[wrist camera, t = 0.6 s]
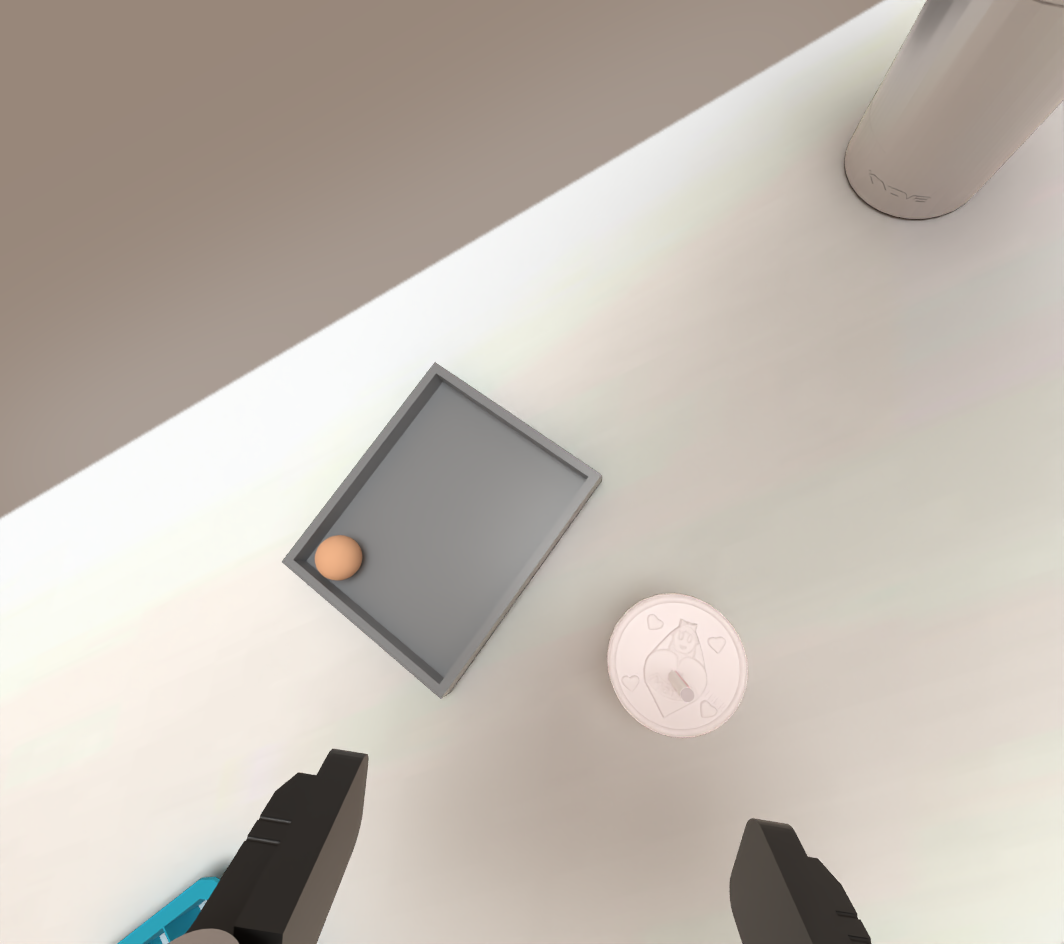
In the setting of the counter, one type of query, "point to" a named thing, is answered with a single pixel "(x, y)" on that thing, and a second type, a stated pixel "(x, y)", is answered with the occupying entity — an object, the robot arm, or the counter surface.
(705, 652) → the smoothie
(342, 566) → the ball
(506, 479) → the tray
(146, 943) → the ice cube tray
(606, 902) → the counter surface
